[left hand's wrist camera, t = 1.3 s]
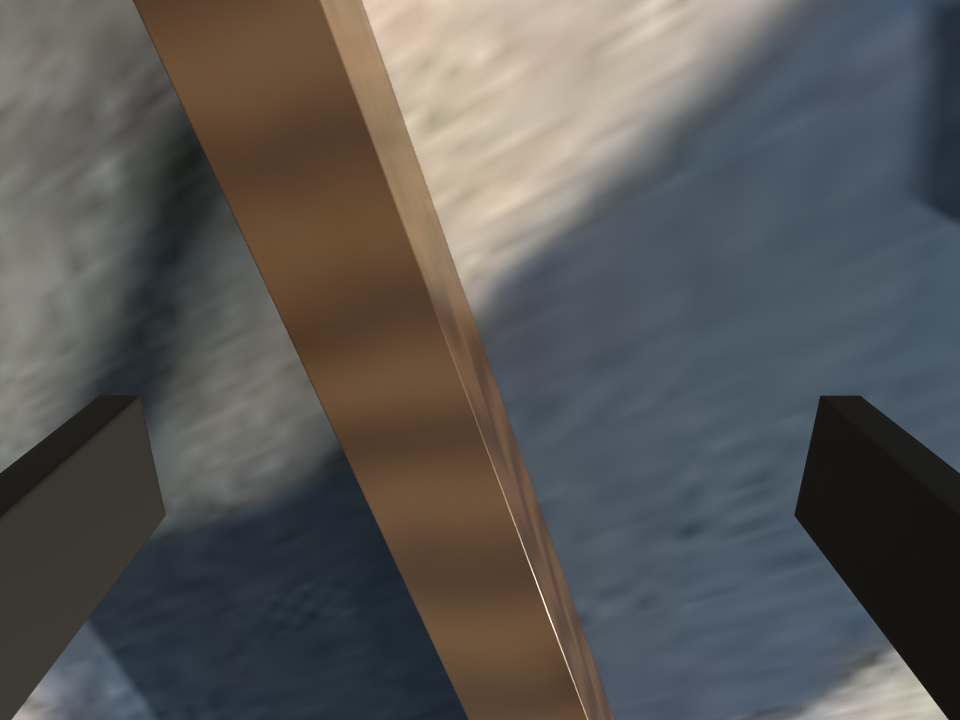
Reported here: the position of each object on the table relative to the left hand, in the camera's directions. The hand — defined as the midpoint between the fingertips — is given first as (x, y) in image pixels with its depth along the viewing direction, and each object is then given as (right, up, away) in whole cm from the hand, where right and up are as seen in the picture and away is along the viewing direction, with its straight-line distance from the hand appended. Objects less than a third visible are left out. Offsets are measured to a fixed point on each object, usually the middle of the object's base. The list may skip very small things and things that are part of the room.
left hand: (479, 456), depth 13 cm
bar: (+3, -13, +24) cm, 28 cm away
